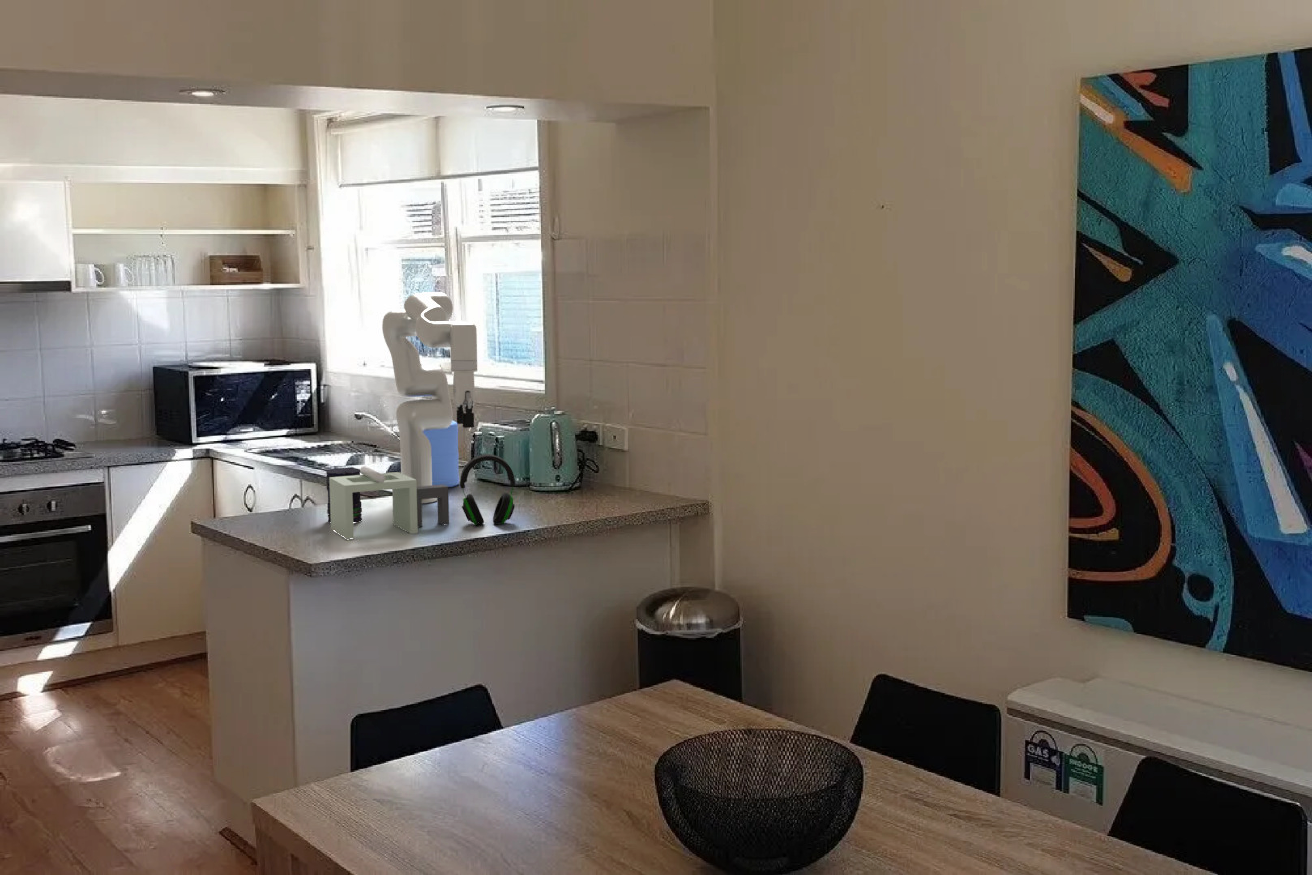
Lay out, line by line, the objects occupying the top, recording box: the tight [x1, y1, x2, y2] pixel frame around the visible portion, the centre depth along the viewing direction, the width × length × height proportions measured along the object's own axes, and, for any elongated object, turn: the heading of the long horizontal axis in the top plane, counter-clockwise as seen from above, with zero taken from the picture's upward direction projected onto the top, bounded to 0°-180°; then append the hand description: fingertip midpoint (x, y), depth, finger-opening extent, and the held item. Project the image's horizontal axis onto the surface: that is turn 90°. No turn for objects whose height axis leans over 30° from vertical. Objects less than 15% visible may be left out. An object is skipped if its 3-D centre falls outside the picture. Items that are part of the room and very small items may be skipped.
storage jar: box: [325, 467, 363, 523], centre depth 405 cm, size 10×10×15 cm
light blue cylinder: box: [423, 420, 460, 488], centre depth 467 cm, size 16×16×28 cm
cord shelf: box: [329, 465, 419, 539], centre depth 390 cm, size 16×20×17 cm
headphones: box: [459, 453, 516, 526], centre depth 400 cm, size 9×16×20 cm, turn 102°
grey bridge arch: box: [417, 485, 450, 527], centre depth 400 cm, size 4×10×11 cm, turn 118°
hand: (465, 425), depth 404 cm, fingers open, 9 cm apart
